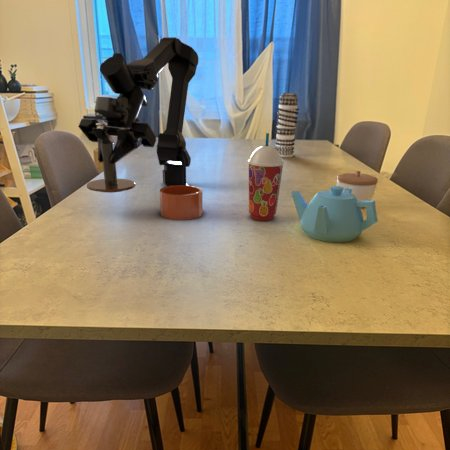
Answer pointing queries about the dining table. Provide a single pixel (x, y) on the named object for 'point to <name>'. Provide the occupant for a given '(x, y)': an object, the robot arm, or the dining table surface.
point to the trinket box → (358, 184)
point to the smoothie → (264, 182)
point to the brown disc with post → (109, 174)
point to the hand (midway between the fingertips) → (105, 162)
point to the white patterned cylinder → (286, 124)
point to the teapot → (334, 215)
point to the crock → (181, 202)
